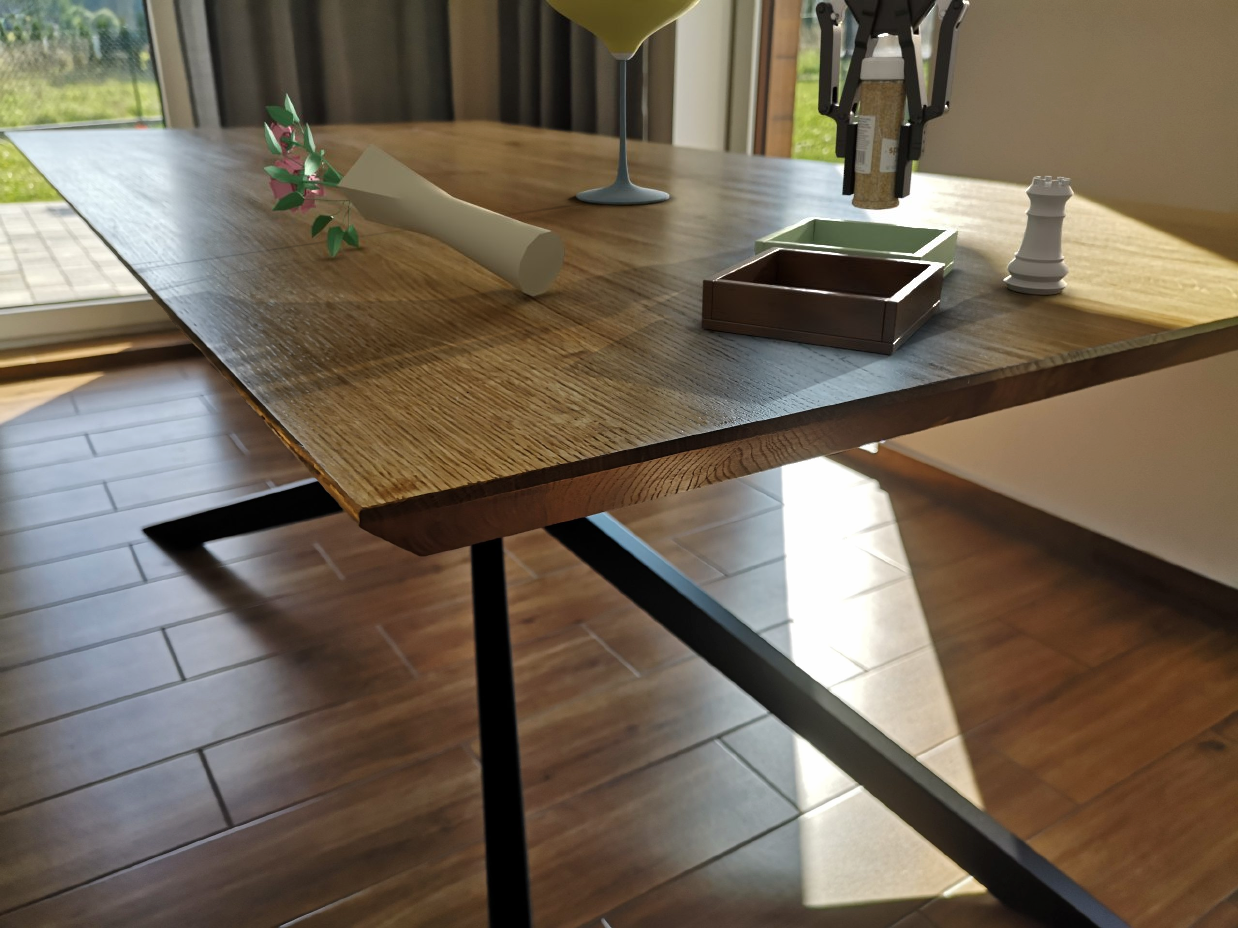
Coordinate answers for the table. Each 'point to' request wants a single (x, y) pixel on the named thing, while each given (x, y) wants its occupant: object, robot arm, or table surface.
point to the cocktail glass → (622, 69)
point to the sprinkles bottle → (879, 132)
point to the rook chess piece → (1042, 240)
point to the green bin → (867, 240)
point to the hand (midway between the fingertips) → (875, 194)
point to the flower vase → (409, 208)
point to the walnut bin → (824, 298)
